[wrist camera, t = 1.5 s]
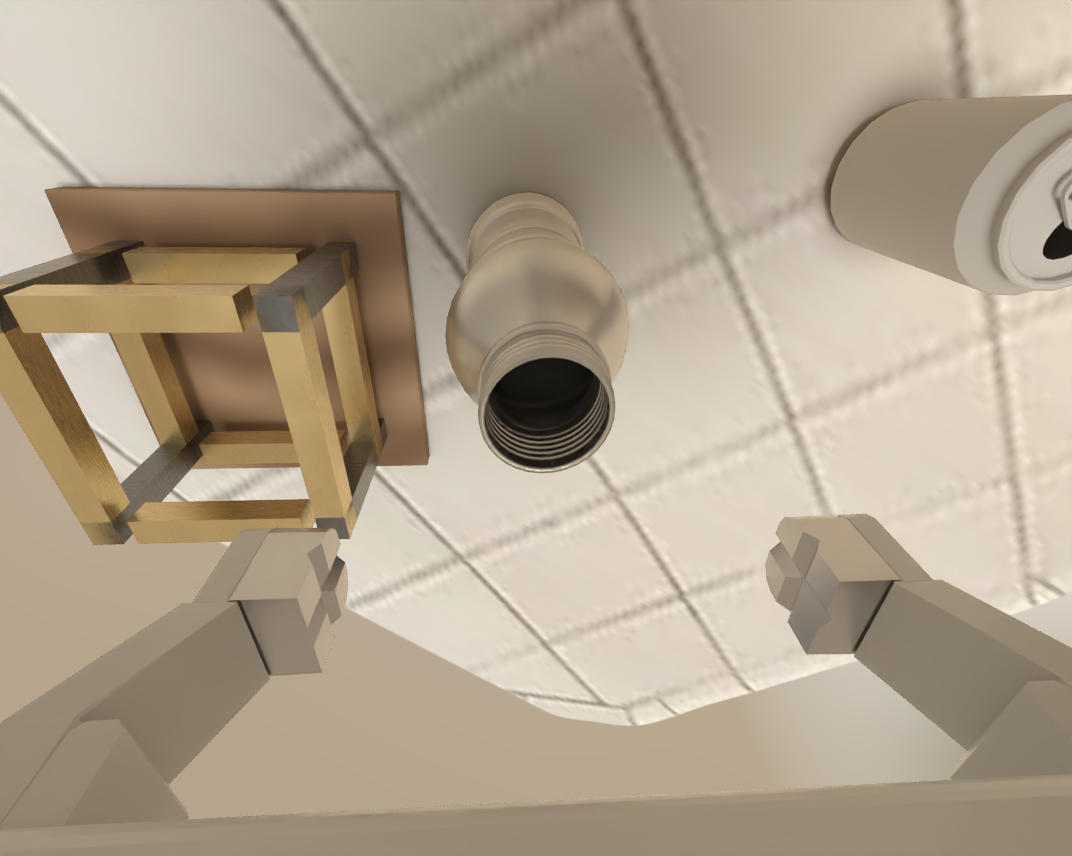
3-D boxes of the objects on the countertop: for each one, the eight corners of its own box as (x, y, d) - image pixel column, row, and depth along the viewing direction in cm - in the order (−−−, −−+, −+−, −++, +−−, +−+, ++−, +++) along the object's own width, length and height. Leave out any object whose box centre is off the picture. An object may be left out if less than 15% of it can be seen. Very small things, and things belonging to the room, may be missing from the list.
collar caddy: (114, 240, 28) (-60, 295, 19) (355, 241, 28) (290, 296, 20) (195, 439, 34) (93, 544, 26) (387, 436, 35) (349, 538, 27)
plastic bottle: (452, 275, 31) (385, 472, 14) (497, 163, 28) (484, 238, 11) (545, 319, 32) (589, 542, 16) (598, 218, 29) (724, 357, 12)
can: (853, 270, 32) (1016, 343, 22) (799, 173, 29) (960, 205, 19) (974, 181, 29) (1222, 216, 19) (929, 64, 26) (1197, 32, 16)
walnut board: (61, 187, 27) (44, 189, 26) (398, 190, 28) (394, 193, 27) (179, 459, 37) (170, 469, 36) (429, 455, 38) (427, 465, 37)
